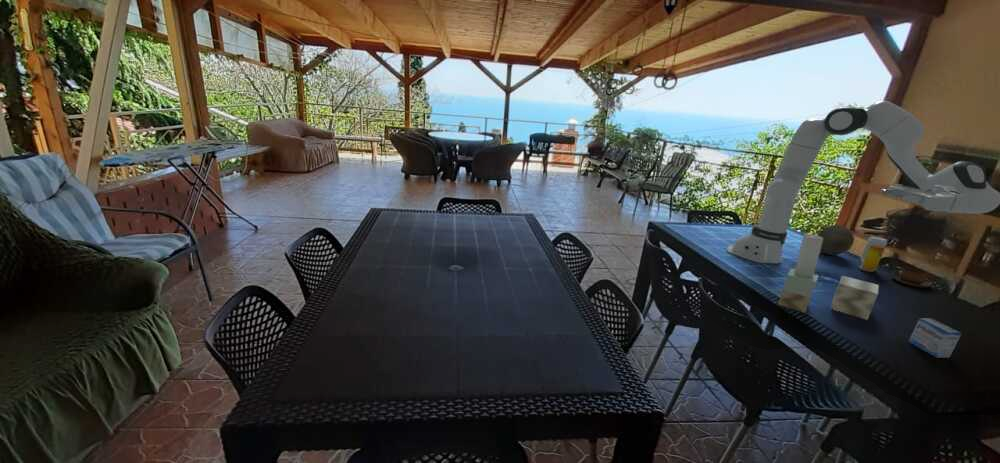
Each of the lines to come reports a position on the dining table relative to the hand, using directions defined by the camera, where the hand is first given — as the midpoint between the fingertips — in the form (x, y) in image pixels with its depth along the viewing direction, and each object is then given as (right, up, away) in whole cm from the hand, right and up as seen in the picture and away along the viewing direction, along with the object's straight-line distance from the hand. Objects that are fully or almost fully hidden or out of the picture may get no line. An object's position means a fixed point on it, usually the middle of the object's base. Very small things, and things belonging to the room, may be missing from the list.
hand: (891, 194), depth 136 cm
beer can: (+28, -30, +39) cm, 57 cm away
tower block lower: (-32, -40, +4) cm, 51 cm away
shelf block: (-13, -41, +2) cm, 43 cm away
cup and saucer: (+35, -35, +27) cm, 57 cm away
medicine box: (-9, -49, -19) cm, 53 cm away
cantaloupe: (+25, -25, +55) cm, 66 cm away
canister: (-31, -28, 0) cm, 42 cm away
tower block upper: (-32, -34, +2) cm, 46 cm away
